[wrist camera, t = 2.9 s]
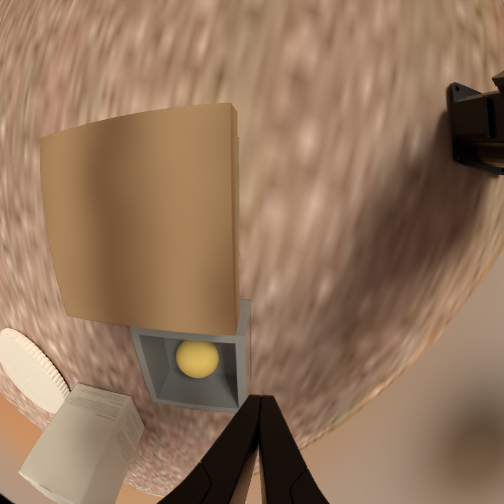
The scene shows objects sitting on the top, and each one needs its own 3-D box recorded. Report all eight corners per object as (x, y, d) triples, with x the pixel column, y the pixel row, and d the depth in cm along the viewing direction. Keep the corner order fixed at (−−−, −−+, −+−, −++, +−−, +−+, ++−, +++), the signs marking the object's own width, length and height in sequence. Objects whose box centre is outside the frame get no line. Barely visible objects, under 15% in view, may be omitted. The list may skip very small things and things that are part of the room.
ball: (220, 329, 20) (212, 356, 17) (223, 361, 21) (216, 388, 18) (179, 326, 20) (167, 351, 17) (185, 357, 21) (174, 383, 18)
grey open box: (250, 299, 20) (245, 335, 16) (251, 375, 23) (247, 413, 18) (153, 295, 21) (128, 325, 16) (168, 367, 23) (152, 402, 19)
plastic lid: (69, 415, 30) (63, 426, 27) (6, 360, 28) (-2, 368, 25) (81, 375, 26) (71, 388, 23) (4, 304, 24) (-8, 313, 21)
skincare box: (93, 412, 28) (46, 497, 13) (75, 378, 25) (13, 468, 11) (148, 427, 27) (108, 529, 12) (133, 393, 25) (77, 509, 10)
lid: (237, 112, 11) (230, 102, 9) (240, 312, 14) (235, 335, 12) (64, 138, 11) (39, 138, 9) (85, 299, 14) (66, 315, 12)
